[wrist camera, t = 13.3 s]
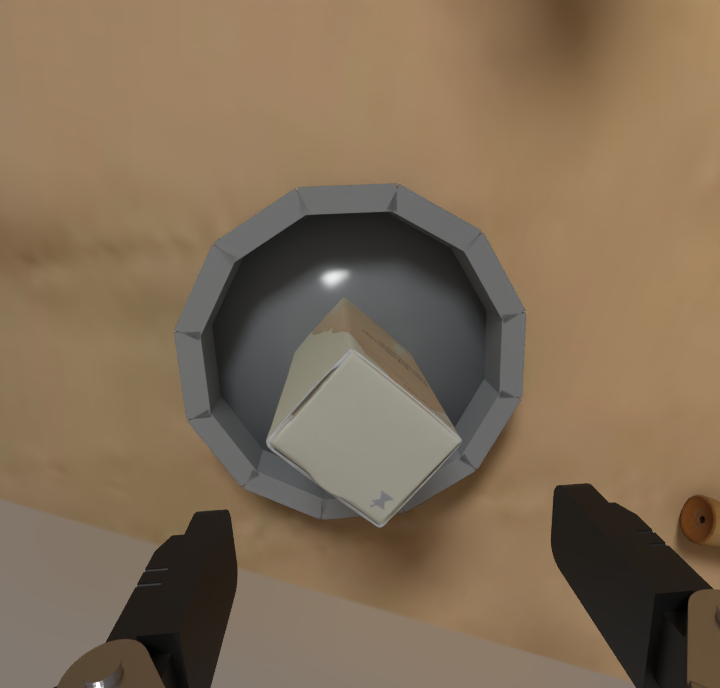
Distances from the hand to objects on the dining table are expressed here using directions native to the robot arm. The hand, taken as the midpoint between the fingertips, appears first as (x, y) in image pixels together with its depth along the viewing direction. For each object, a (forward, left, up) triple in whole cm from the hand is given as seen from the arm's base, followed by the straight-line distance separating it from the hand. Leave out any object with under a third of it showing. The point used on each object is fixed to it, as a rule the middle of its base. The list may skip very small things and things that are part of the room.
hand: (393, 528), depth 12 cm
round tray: (0, 0, -15) cm, 15 cm away
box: (0, 0, -15) cm, 15 cm away
